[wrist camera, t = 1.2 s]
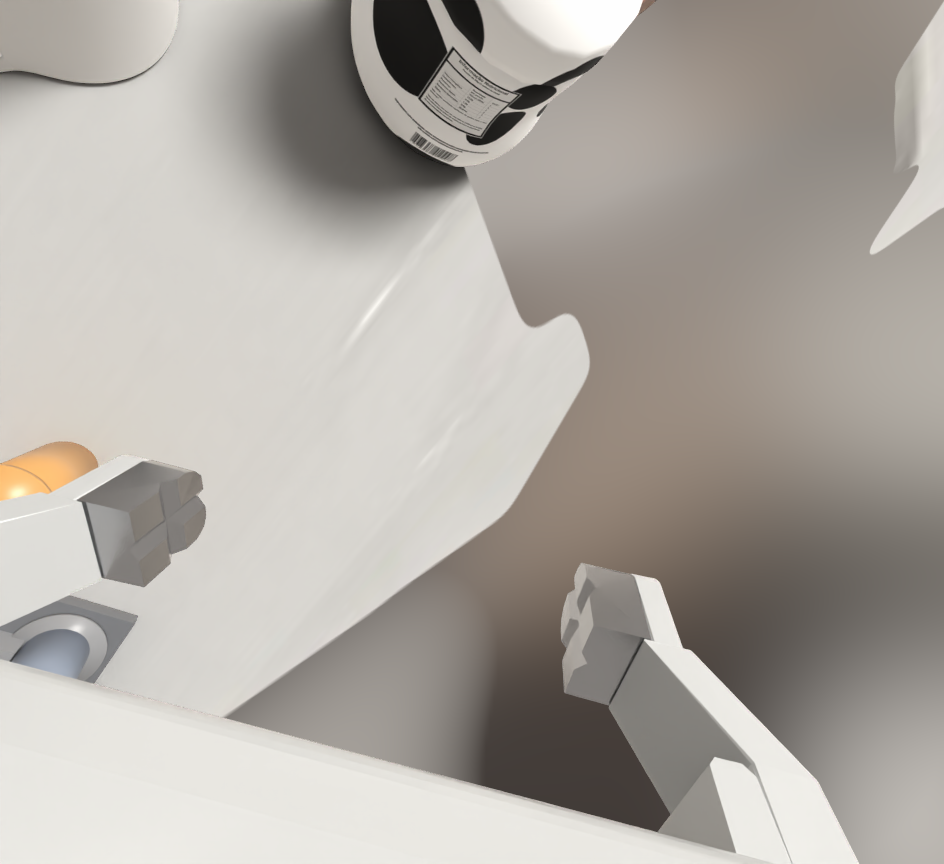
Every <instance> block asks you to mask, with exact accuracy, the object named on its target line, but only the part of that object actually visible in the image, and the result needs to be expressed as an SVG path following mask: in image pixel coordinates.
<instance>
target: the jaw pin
mask: <svg viewBox="0 0 944 864" xmlns="http://www.w3.org/2000/svg"><path fill="white" fill-rule="evenodd" d="M96 468H98V463H97V460H96V458H95V456H94V455H93V454H92V453H91V452H90V451H89V450H88V449H87V448H85V447H83V446H81V445H79V444H76V443H72V442H53V443H49V444H46V445H44V446H41V447H39V448H37V449H34V450H32V451H30V452H27V453H25V454H23V455H20V456H18V457H15V458H13V459H11V460H8V461H6V462H4V463H0V501H2V500H7V499H12V498H16V497H21V496H26V495H30V494H35V493H40V492H42V493H46V494H49V493H51V492H53V491H55V490H57V489H59V488H60V487H62V486H64V485H66V484H68V483H70V482H72V481H73V480H75V479H77V478H79V477H81V476H83V475H85V474H86V473H88V472H90V471H92V470H94V469H96Z"/></svg>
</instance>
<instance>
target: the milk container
mask: <svg viewBox="0 0 944 864" xmlns="http://www.w3.org/2000/svg"><path fill="white" fill-rule="evenodd" d="M642 1H643V0H352V4H351V39H352V47H353V53H354V57H355V62H356V65H357V69H358V72H359V75H360V78H361V81H362V83H363V86H364V88H365V90H366V93H367V95H368V97H369V99H370V100H371V102H372V104H373V106H374V107H375V109H376V110H377V112H378V113H379V115H380V116H381V118H382V120H383V121H384V122H385V124H386V125H387V126H388V128H389V129H390V130H391V131H392V132H393V133H394V134H395V135H396V136H397V137H398V138H399V139H400V140H402V141H403V142H404V143H405V144H406V145H407V146H408V147H410V148H411V149H412V150H414V151H415V152H416V153H418V154H420V155H422V156H424V157H426V158H428V159H430V160H433V161H435V162H438V163H441V164H444V165H449V166H456V167H468V166H474V165H478V164H482V163H485V162H488V161H490V160H493V159H495V158H497V157H499V156H501V155H503V154H505V153H506V152H508V151H509V150H511V149H512V148H513V147H515V146H516V145H517V144H518V143H519V142H520V141H522V139H523V138H524V137H525V136H526V135H527V134H528V133H529V132H530V131H531V129H532V128H533V127H534V125H535V124H536V122H537V121H538V119H539V118H540V116H541V114H542V113H543V111H544V109H545V108H546V106H547V104H548V103H549V102H550V101H551V100H552V99H554V98H555V97H556V96H557V95H559V94H560V93H561V92H563V91H564V90H565V89H567V88H568V87H569V86H570V85H572V84H573V83H574V82H575V81H576V80H578V79H579V78H580V77H581V76H582V75H583V74H584V73H585V72H587V71H588V70H590V69H591V68H592V67H593V66H594V65H596V64H597V63H598V62H599V60H600V59H601V58H602V57H603V56H604V55H605V54H606V53H607V52H608V51H609V50H610V48H611V47H612V46H613V45H614V44H615V42H616V41H617V40H618V39H619V37H620V36H621V35H622V34H623V32H624V31H625V30H626V29H627V27H628V26H629V25H630V24H631V23H632V21H633V20H634V19H635V17H636V16H637V15H638V13H639V10H640V7H641V4H642Z"/></svg>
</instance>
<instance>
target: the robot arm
mask: <svg viewBox="0 0 944 864" xmlns="http://www.w3.org/2000/svg"><path fill="white" fill-rule="evenodd" d="M178 16H179V0H0V72H6V71H13V70H19V71H26V72H31V73H36V74H40V75H44V76H48V77H52V78H56V79H61V80H66V81H72V82H79V83H108V82H115V81H120V80H124V79H127V78H130V77H133V76H135V75H138V74H140V73H142V72H143V71H145V70H147V69H148V68H150V67H151V66H152V65H154V64H155V63H156V62H157V61H158V60H159V59H160V58H161V57H162V56H163V54H164V53H165V52H166V50H167V49H168V47H169V45H170V44H171V41H172V39H173V37H174V34H175V31H176V27H177V23H178ZM202 490H203V484H202V478H201V475H199V474H198V473H197V472H195V471H192V470H188V469H184V468H181V467H177V466H173V465H169V464H165V463H161V462H158V461H154V460H148V459H145V458H141V457H137V456H133V455H120V456H118V457H116V458H114V459H113V460H111V461H109V462H107V463H105V464H103V465H101V466H99V467H98V468H96V469H94V470H92V471H90V472H88V473H86V474H85V475H83V476H81V477H79V478H77V479H75V480H73V481H72V482H70V483H68V484H66V485H64V486H62V487H60V488H59V489H57V490H55V491H53V492H51V493H49V494H46V493H42V492H40V493H35V494H30V495H26V496H21V497H16V498H12V499H7V500H2V501H0V626H3V625H5V624H7V623H9V622H11V621H14V620H16V619H18V618H20V617H22V616H25V615H27V614H29V613H31V612H33V611H36V610H38V609H40V608H42V607H44V606H47V605H49V604H51V603H53V602H55V601H58V600H60V599H62V598H64V597H66V596H69V595H71V594H73V593H75V592H77V591H80V590H82V589H84V588H86V587H88V586H91V585H93V584H95V583H97V582H99V581H101V580H102V578H105V579H110V580H114V581H119V582H123V583H128V584H132V585H137V586H141V587H145V586H146V585H147V584H148V583H150V582H151V581H152V580H153V579H154V578H155V577H156V576H157V575H158V574H159V573H161V572H162V571H163V570H164V569H165V568H166V567H167V566H168V565H169V564H171V555H172V554H174V553H176V552H179V551H182V550H184V549H187V548H188V547H189V546H190V545H191V544H192V543H193V542H194V541H195V540H196V539H197V538H198V536H199V534H200V533H201V531H202V529H203V527H204V524H205V519H206V509H205V505H204V504H203V503H202V501H201V500H200V499H199V497H198V494H199V493H200V492H201V491H202ZM574 580H575V590H573V591H571V592H570V593H568V596H567V599H566V601H565V604H564V609H563V614H562V619H561V641H562V642H563V644H564V645H565V646H566V648H567V651H566V653H565V655H564V658H563V661H562V662H563V677H564V693H567V694H570V695H574V696H577V697H581V698H585V699H588V700H592V701H595V702H599V703H602V704H606V705H609V709H610V711H611V713H612V714H613V716H614V717H615V719H616V721H617V723H618V725H619V726H620V728H621V730H622V731H623V733H624V735H625V737H626V738H627V740H628V742H629V743H630V745H631V746H632V749H633V750H634V752H635V754H636V755H637V757H638V759H639V760H640V762H641V764H642V765H643V767H644V769H645V771H646V773H647V774H648V776H649V778H650V780H651V781H652V783H653V785H654V786H655V788H656V790H657V791H658V793H659V795H660V797H661V798H662V800H663V802H664V804H665V805H666V807H667V808H668V810H669V812H670V813H671V815H670V817H669V818H668V819H667V820H666V822H665V823H664V824H663V826H662V827H661V828H660V830H659V831H658V832H654V831H650V830H646V829H642V828H638V827H635V826H631V825H627V824H624V823H620V822H616V821H612V820H608V819H604V818H601V817H597V816H593V815H589V814H585V813H581V812H578V811H574V810H570V809H567V808H563V807H559V806H555V805H551V804H547V803H544V802H540V801H536V800H533V799H529V798H525V797H521V796H517V795H514V794H510V793H506V792H502V791H499V790H495V789H491V788H487V787H483V786H479V785H475V784H472V783H468V782H464V781H461V780H456V779H453V778H449V777H445V776H442V775H438V774H434V773H430V772H427V771H423V770H419V769H415V768H411V767H407V766H403V765H399V764H396V763H392V762H389V761H384V760H381V759H377V758H373V757H369V756H365V755H362V754H358V753H354V752H351V751H347V750H343V749H339V748H335V747H331V746H327V745H324V744H320V743H316V742H313V741H309V740H305V739H301V738H297V737H293V736H290V735H286V734H282V733H278V732H274V731H270V730H267V729H263V728H259V727H256V726H252V725H248V724H244V723H241V722H237V721H233V720H229V719H225V718H222V717H218V716H214V715H210V714H206V713H203V712H199V711H195V710H191V709H187V708H184V707H180V706H176V705H172V704H169V703H165V702H161V701H157V700H153V699H150V698H146V697H142V696H138V695H134V694H131V693H127V692H123V691H119V690H115V689H112V688H108V687H104V686H100V685H97V684H93V683H89V682H85V681H81V680H78V679H74V678H70V677H66V676H63V675H59V674H55V673H51V672H47V671H44V670H40V669H36V668H32V667H28V666H25V665H21V664H17V663H13V662H10V661H6V660H2V659H0V864H859V863H858V861H857V859H856V857H855V855H854V853H853V851H852V849H851V847H850V845H849V843H848V841H847V839H846V837H845V835H844V833H843V831H842V829H841V827H840V825H839V823H838V821H837V819H836V817H835V815H834V813H833V811H832V809H831V807H830V805H829V803H828V801H827V799H826V797H825V795H824V793H823V791H822V789H821V787H820V785H819V783H818V781H817V780H816V779H815V778H814V777H813V776H812V775H811V774H810V773H809V772H808V771H807V770H806V769H805V768H804V767H803V766H802V765H801V764H800V762H798V760H797V759H796V758H795V757H794V756H793V755H792V754H791V753H790V752H789V751H788V750H787V749H786V748H785V747H784V746H783V745H782V744H781V743H780V742H779V741H778V740H777V739H776V738H775V737H774V736H773V735H772V734H771V733H770V732H769V731H768V729H767V728H766V727H765V726H764V725H763V724H762V723H761V722H760V721H759V720H758V719H757V718H756V717H755V716H754V715H753V714H752V713H751V712H750V711H749V710H748V709H747V708H746V707H745V706H744V705H743V704H742V703H741V702H740V701H739V700H738V699H737V698H736V697H735V696H734V695H733V693H732V692H730V690H729V689H728V688H727V687H726V686H725V685H724V684H723V683H722V682H721V681H720V680H719V679H718V678H717V677H716V676H715V675H714V674H713V673H712V672H711V671H710V670H709V669H708V668H707V667H706V666H705V665H704V664H703V662H702V661H701V660H700V659H698V657H697V656H696V655H695V654H694V653H693V652H692V651H690V650H687V649H683V648H682V645H681V642H680V639H679V637H678V633H677V630H676V628H675V625H674V622H673V619H672V616H671V613H670V611H669V607H668V605H667V602H666V599H665V596H664V594H663V591H662V588H661V585H660V583H659V582H658V581H657V580H656V579H653V578H648V577H644V576H639V575H635V574H627V573H622V572H618V571H614V570H610V569H605V568H601V567H597V566H592V565H588V564H584V563H581V564H580V566H579V567H578V569H577V572H576V575H575V577H574Z"/></svg>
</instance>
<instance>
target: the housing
mask: <svg viewBox="0 0 944 864" xmlns="http://www.w3.org/2000/svg"><path fill="white" fill-rule="evenodd" d="M137 617H138V616H137V615H133V614H130V613H127V612H123V611H120V610H117V609H113V608H110V607H107V606H103V605H100V604H97V603H93V602H90V601H87V600H83V599H80V598H77V597H73V596H70V595H69V596H66V597H64V598H62V599H60V600H58V601H55V602H53V603H51V604H49V605H47V606H44V607H42V608H40V609H38V610H36V611H33V612H31V613H29V614H27V615H25V616H22V617H20V618H18V619H16V620H14V621H11V622H9V623H7V624H5V625H3V626H0V659H2V660H6V661H10V662H13V663H17V664H21V665H25V666H28V667H32V668H36V669H40V670H44V671H47V672H51V673H55V674H59V675H63V676H66V677H70V678H74V679H78V680H81V681H85V682H89V683H93V684H94V683H95V681H96V680H97V678H98V677H99V675H100V674H101V673H102V671H103V670H104V668H105V667H106V665H107V664H108V662H109V661H110V659H111V658H112V656H113V655H114V654H115V652H116V651H117V649H118V648H119V646H120V645H121V643H122V642H123V640H124V639H125V637H126V636H127V635H128V633H129V632H130V630H131V629H132V627H133V626H134V624H135V622H136V620H137Z"/></svg>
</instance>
